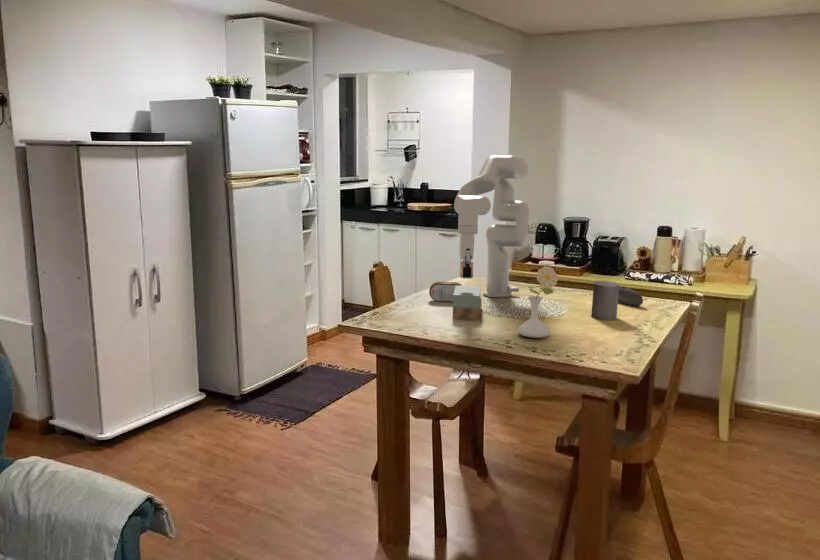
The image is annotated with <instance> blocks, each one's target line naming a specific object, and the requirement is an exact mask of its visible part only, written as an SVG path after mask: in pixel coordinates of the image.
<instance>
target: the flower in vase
mask: <svg viewBox="0 0 820 560" xmlns="http://www.w3.org/2000/svg"><path fill="white" fill-rule="evenodd" d="M536 277H537V278H536V280H537V282H538V284H539V286H541V289H540V291H539V292H538V291H536V290H533V289H532V288H530V287H529V291H530V292H531V293H534V294H536V295H535V296H534V295H531V296H528V297H527V299H528V300H529V303H530V306H531V307H530V308H531V314H530V317H529V319H528V320H527V321H525V322H523V323H522V324H521V325H519V327H518V328H517V330H516V331H517V332H518V334H519V335H520V336H523V337H527V338H531V339H534V338H535V339H539V338H545V337H547V336H549V335H550V334H551V329H550V328H549V327H548V326H547V325H545V324H544V322H542V320H541V319H539V316H538V315H539V306H540V303H541V301H542V300H543V297H542V296H539V295H540V294H541V292H543V293H544V294H545V295H551V294H554V291H553V290H552V288H553V287H555V286H557V284H558V283H557V282H559V279H558V278H559V276H558V274H557V272H556V271H555V270H554V268H553V267H550V266H548V267H547V266H546V265H545V266H542V267H541V268H540V269H538V270H537V274H536Z"/></svg>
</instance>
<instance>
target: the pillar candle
mask: <svg viewBox="0 0 820 560" xmlns="http://www.w3.org/2000/svg"><path fill="white" fill-rule="evenodd" d="M619 286H620V284H619V282H616V281H610V280H607V279H605V280H596V281H595V280H594V282H593V288H592V300H591V301H592V302H591V304H592V305H591V314H590V316H591V318H593V319H595V320H600V321H615V320H617V315H618V307H619V306H618V304H619V302H618V294H619Z"/></svg>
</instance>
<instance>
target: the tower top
mask: <svg viewBox="0 0 820 560" xmlns="http://www.w3.org/2000/svg"><path fill="white" fill-rule="evenodd" d="M480 298H481V285H480V286H479V285H475V286H474V285H462V286H457V285H456V287H455V291H454V294H453V302H452V309H453V308H471V309H479V305H480Z"/></svg>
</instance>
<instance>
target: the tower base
mask: <svg viewBox="0 0 820 560" xmlns="http://www.w3.org/2000/svg"><path fill="white" fill-rule="evenodd" d="M482 306H483V303H482V297H480V305H479V309H471V308H453V307H452V320H453V319H455V320H454V321H459V320H460V321H480V322H481V321H482V316H483V313H482V312H483V307H482Z"/></svg>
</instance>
